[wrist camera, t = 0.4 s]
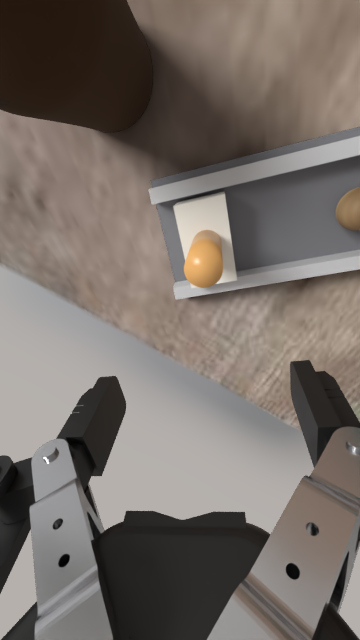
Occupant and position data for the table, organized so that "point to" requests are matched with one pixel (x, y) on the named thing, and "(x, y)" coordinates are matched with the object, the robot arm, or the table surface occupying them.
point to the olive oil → (74, 62)
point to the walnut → (349, 210)
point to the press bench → (273, 211)
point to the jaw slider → (206, 240)
